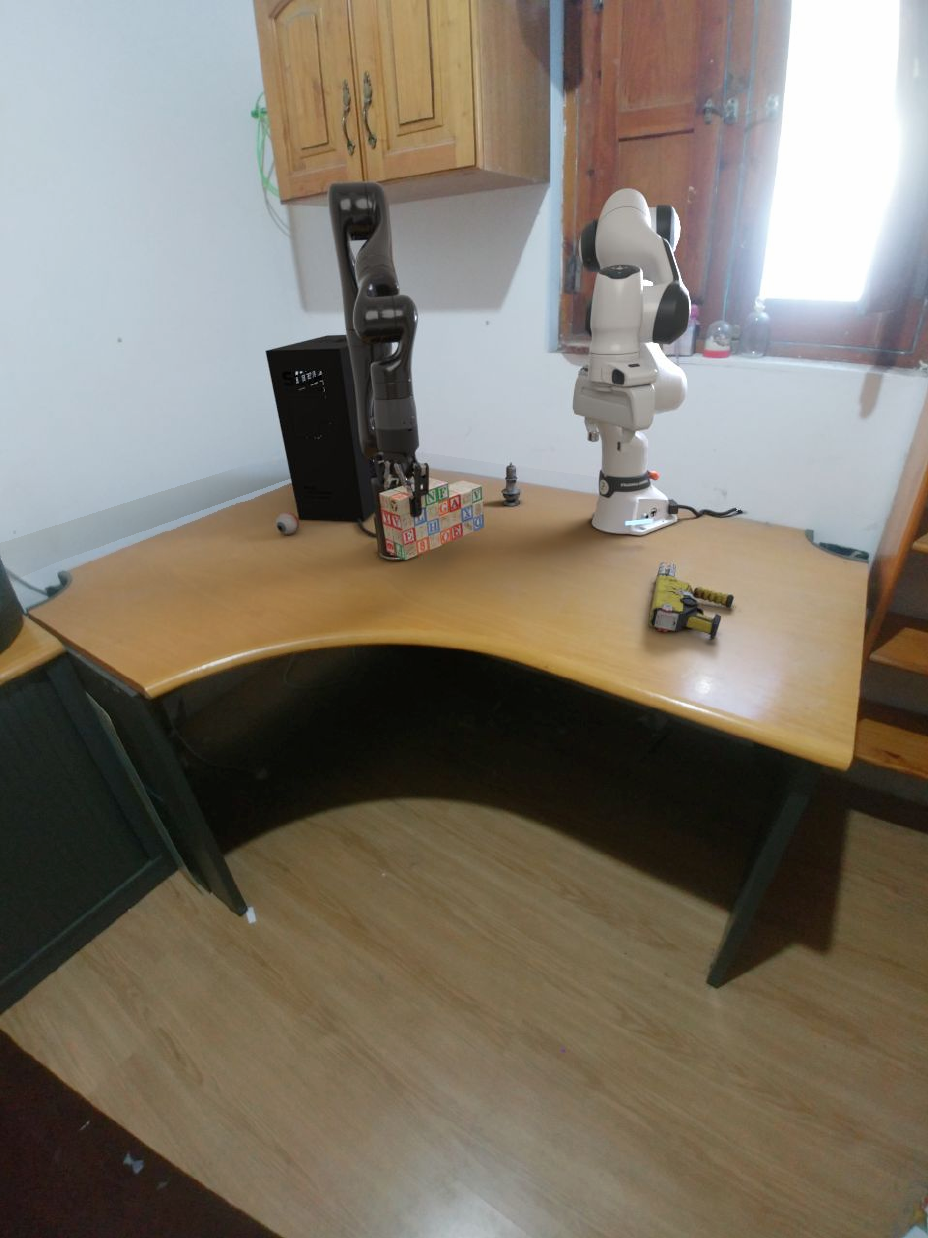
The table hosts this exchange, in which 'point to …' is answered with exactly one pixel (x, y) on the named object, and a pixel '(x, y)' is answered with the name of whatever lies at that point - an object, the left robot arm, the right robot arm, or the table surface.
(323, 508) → the black computer tower
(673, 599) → the toy gun
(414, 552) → the stack of blocks
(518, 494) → the grey chess piece
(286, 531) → the eyeball
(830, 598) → the table surface
